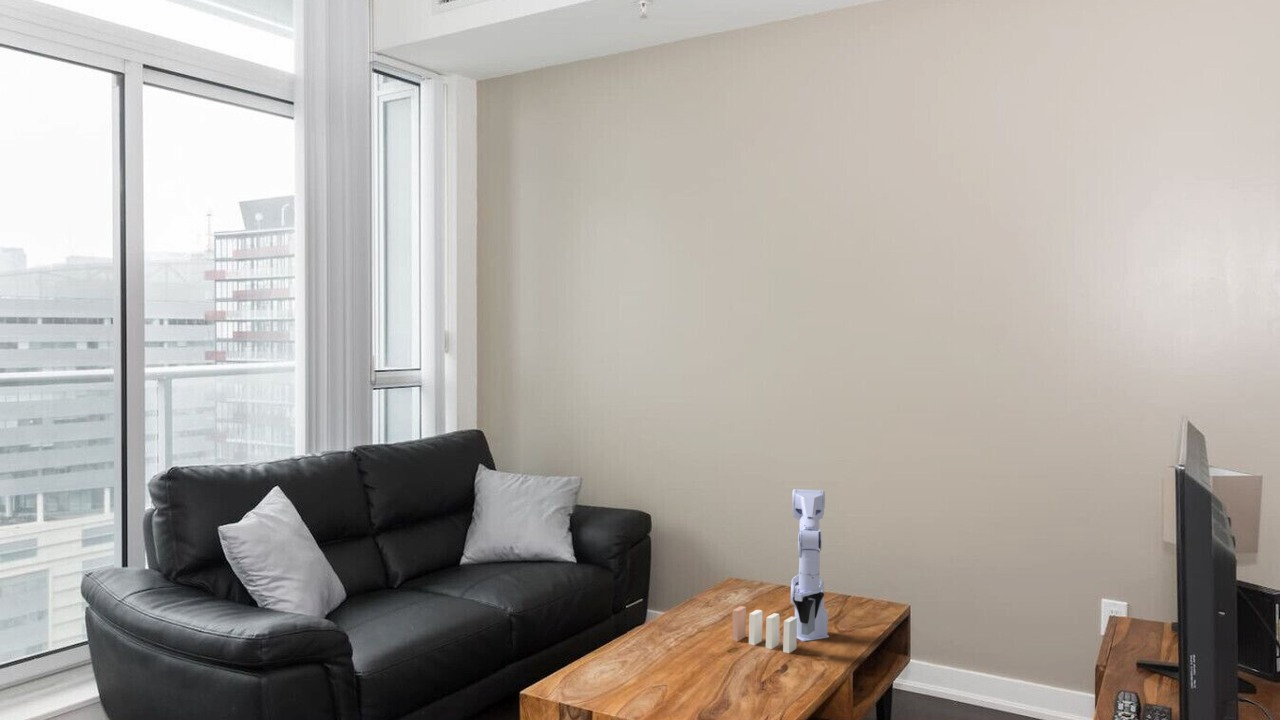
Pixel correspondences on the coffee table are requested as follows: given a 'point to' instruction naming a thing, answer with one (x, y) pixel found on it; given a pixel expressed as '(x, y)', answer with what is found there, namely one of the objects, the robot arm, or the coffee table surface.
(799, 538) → the robot arm
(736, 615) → the domino
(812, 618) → the domino
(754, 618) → the domino
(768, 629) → the domino
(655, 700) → the coffee table surface
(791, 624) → the domino
